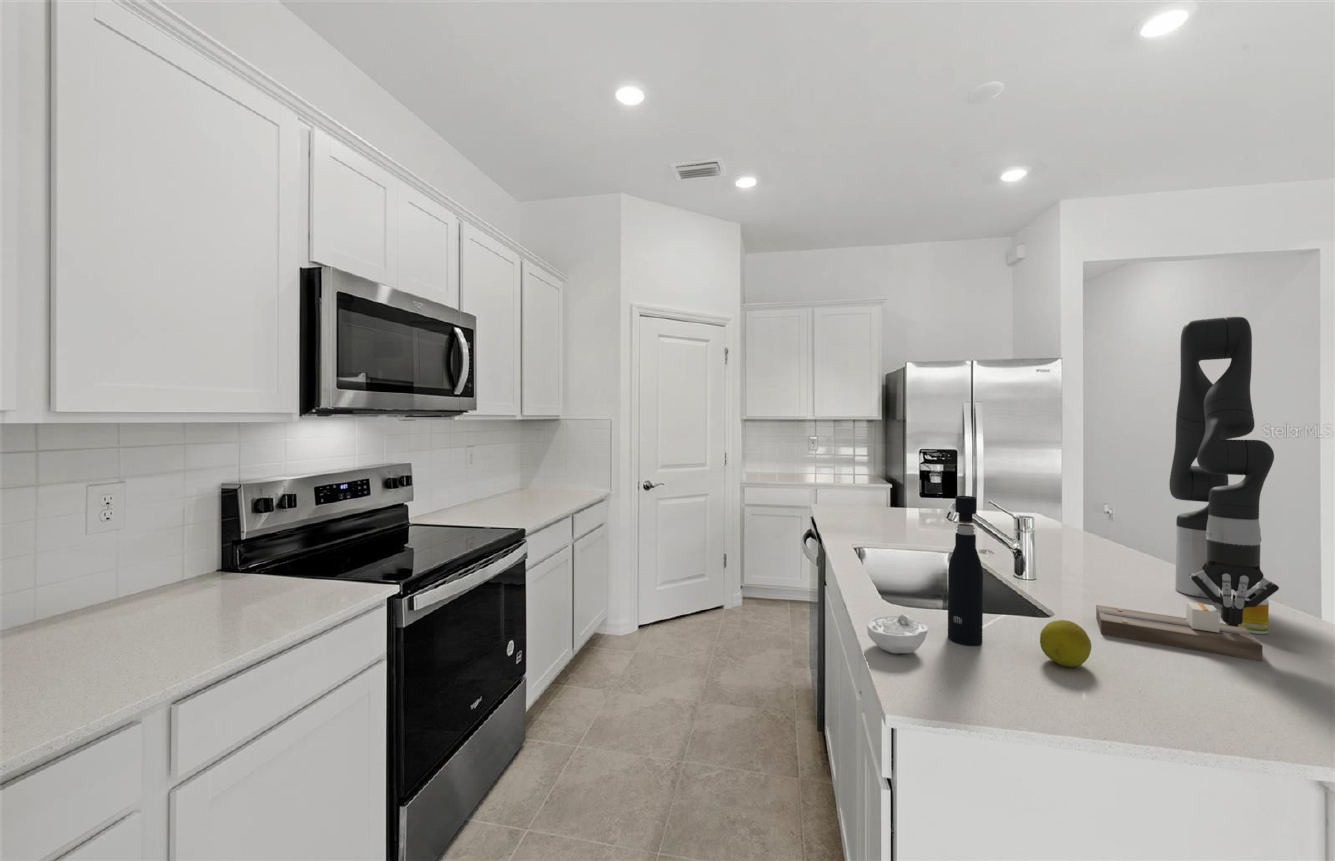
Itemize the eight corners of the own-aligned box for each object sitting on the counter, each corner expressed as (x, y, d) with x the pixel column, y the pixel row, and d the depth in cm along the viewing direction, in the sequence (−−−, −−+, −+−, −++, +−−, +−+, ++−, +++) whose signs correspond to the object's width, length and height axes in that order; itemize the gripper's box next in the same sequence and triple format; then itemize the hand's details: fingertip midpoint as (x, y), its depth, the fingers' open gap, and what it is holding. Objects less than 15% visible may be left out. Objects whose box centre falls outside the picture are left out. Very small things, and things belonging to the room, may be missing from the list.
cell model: (855, 643, 113) (855, 610, 113) (905, 637, 116) (905, 605, 116) (886, 664, 103) (886, 629, 103) (940, 657, 106) (940, 622, 106)
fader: (1186, 620, 115) (1186, 600, 115) (1212, 624, 113) (1212, 604, 113) (1192, 628, 111) (1192, 607, 111) (1219, 632, 109) (1219, 611, 109)
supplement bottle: (1275, 635, 115) (1276, 590, 115) (1245, 633, 116) (1246, 588, 116) (1254, 626, 121) (1255, 582, 120) (1225, 624, 122) (1226, 581, 121)
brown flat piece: (1096, 617, 126) (1096, 604, 126) (1243, 641, 113) (1243, 625, 113) (1101, 633, 117) (1101, 619, 117) (1262, 661, 104) (1262, 644, 103)
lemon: (1078, 679, 97) (1079, 634, 97) (1029, 663, 103) (1030, 621, 103) (1101, 663, 103) (1101, 621, 103) (1053, 649, 110) (1054, 609, 109)
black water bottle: (978, 635, 116) (979, 495, 116) (985, 647, 110) (986, 499, 110) (945, 631, 119) (946, 494, 118) (950, 643, 112) (951, 498, 112)
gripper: (1273, 539, 109) (1271, 625, 109) (1183, 532, 116) (1182, 613, 116) (1288, 547, 103) (1286, 638, 103) (1192, 539, 110) (1191, 624, 110)
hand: (1231, 624), depth 110 cm, fingers closed
